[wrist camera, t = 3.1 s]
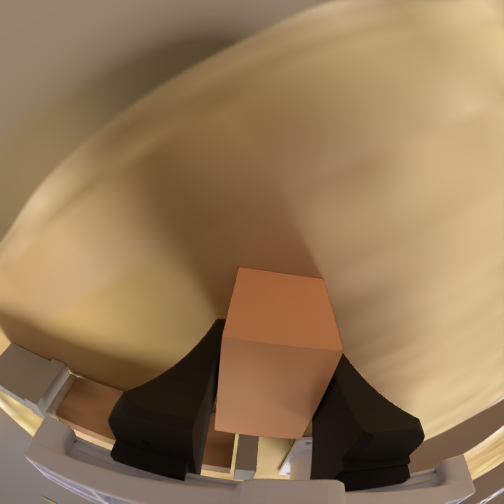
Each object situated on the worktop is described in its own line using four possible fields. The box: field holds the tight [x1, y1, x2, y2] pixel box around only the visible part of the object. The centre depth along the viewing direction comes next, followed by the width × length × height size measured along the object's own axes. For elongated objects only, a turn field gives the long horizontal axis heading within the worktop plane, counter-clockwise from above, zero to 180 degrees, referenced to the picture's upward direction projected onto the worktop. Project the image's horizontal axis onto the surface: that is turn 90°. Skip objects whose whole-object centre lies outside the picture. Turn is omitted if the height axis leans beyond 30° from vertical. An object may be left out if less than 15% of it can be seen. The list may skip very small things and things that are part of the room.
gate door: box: [46, 374, 235, 474], centre depth 16 cm, size 14×1×4 cm, turn 83°
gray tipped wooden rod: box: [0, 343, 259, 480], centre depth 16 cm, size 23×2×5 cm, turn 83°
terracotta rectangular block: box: [215, 267, 344, 439], centre depth 12 cm, size 4×6×5 cm, turn 173°
